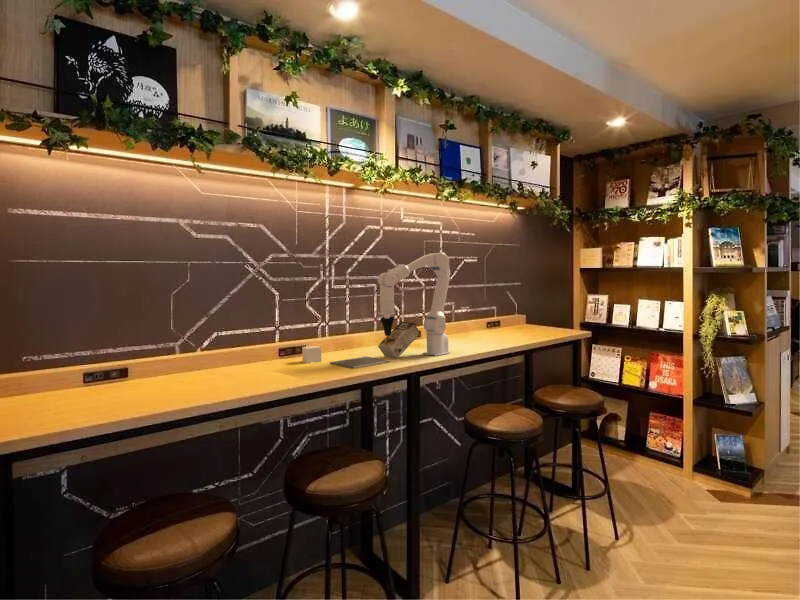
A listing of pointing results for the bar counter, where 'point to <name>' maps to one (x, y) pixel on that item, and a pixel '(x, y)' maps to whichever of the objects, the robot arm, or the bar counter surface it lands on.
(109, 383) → the bar counter surface
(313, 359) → the white cube
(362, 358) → the mat
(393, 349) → the coffee box
